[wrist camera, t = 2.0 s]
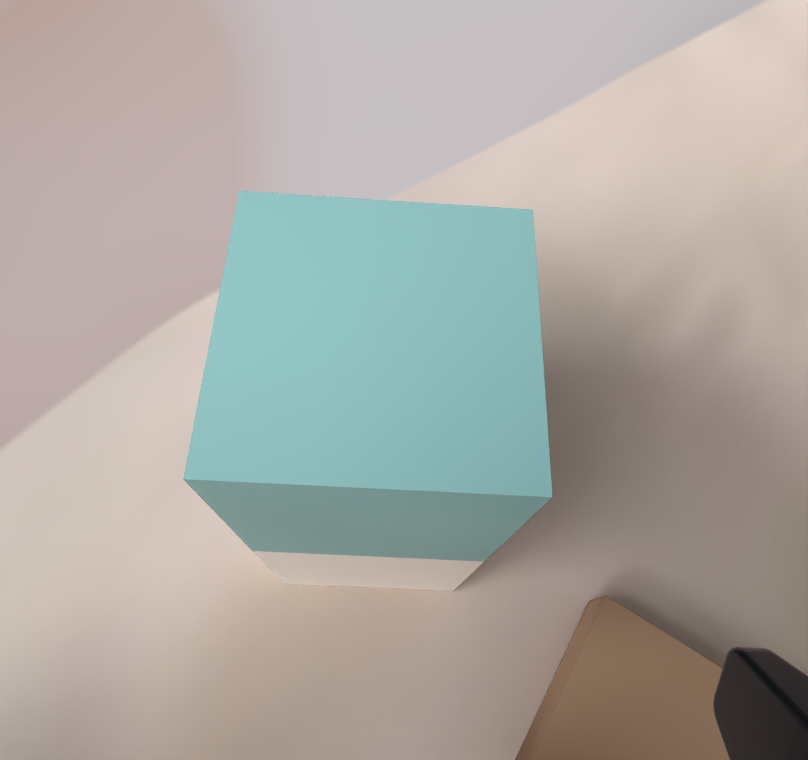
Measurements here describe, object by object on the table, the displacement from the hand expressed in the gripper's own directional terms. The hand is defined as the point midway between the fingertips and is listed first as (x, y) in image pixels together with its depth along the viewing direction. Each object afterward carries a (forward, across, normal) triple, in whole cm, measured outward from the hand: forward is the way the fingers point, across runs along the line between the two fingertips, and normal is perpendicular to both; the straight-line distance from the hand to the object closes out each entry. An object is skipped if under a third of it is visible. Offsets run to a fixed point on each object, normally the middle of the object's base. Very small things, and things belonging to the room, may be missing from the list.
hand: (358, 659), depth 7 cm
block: (+11, 0, +5) cm, 12 cm away
